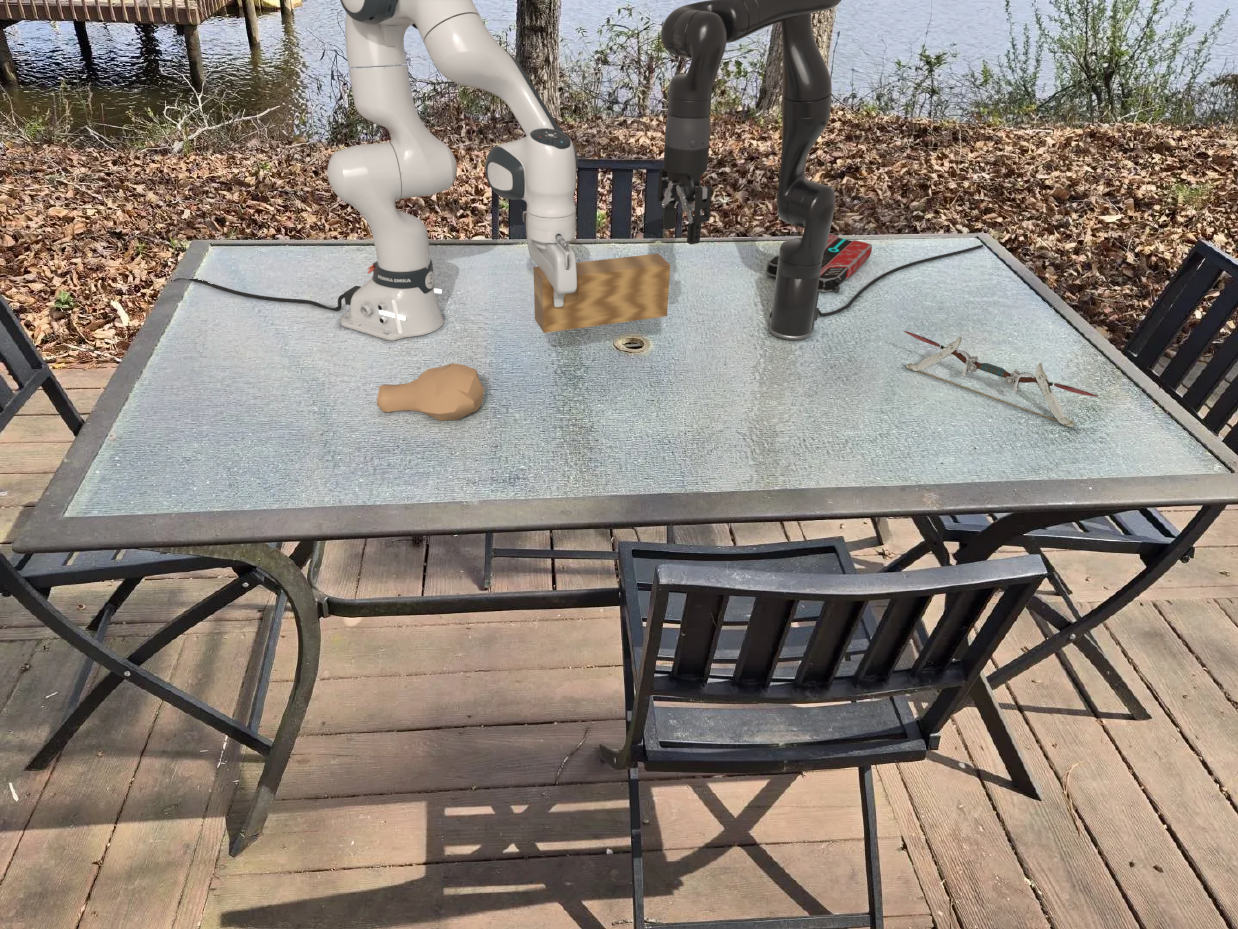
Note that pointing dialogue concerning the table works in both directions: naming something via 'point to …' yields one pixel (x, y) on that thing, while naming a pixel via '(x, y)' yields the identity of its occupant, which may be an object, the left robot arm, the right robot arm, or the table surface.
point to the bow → (1010, 379)
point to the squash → (436, 393)
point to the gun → (835, 262)
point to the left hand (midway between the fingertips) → (552, 297)
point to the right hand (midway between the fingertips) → (680, 235)
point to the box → (606, 293)
